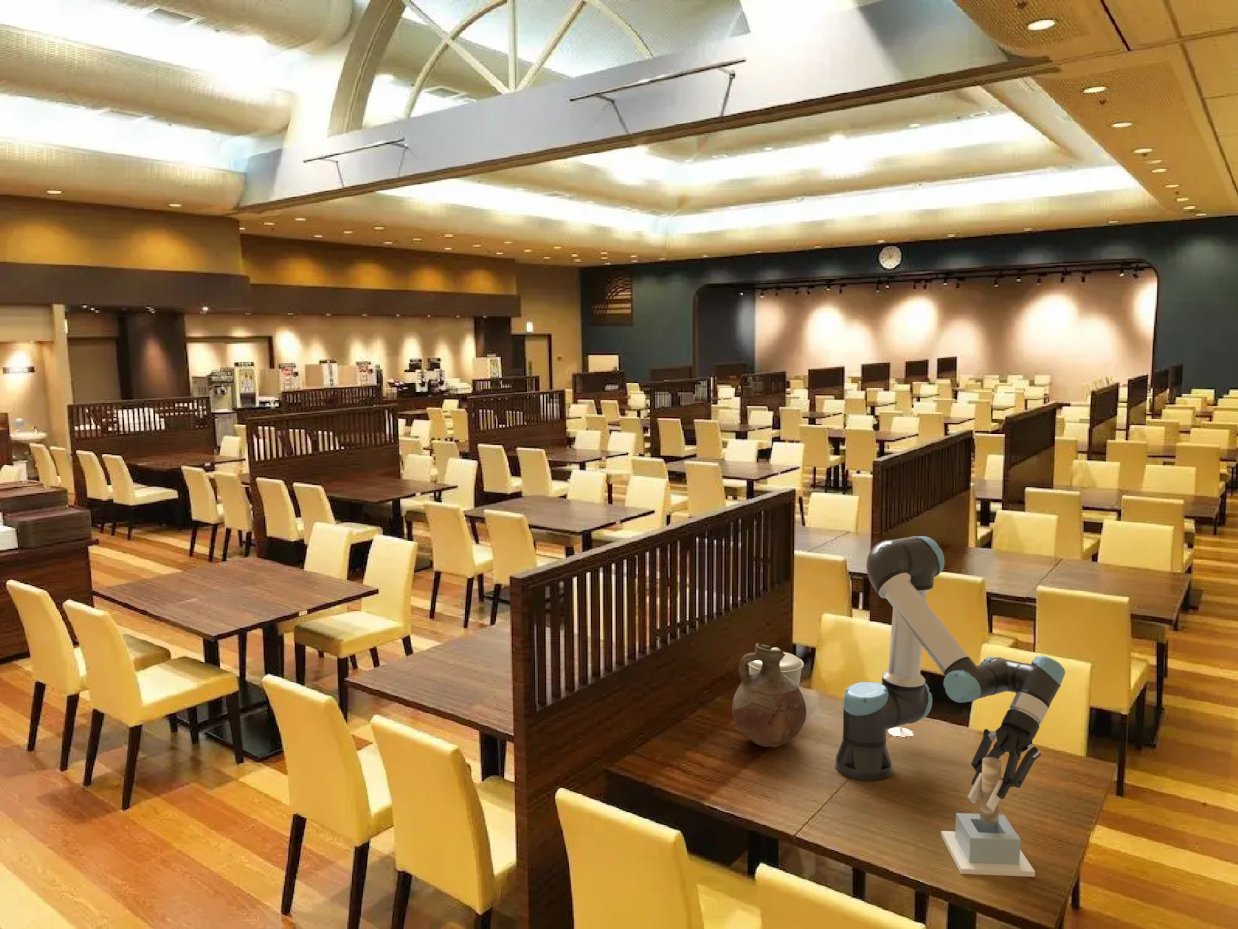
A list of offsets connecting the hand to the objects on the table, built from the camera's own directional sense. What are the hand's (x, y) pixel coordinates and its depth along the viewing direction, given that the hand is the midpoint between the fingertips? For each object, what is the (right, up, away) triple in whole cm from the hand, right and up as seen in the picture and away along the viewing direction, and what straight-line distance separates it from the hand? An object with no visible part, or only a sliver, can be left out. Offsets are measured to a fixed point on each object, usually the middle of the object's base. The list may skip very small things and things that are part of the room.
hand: (980, 804), depth 205 cm
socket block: (+3, -13, +4) cm, 14 cm away
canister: (-32, -3, +87) cm, 93 cm away
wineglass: (+4, -5, +71) cm, 71 cm away
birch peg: (+3, -4, +3) cm, 6 cm away
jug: (-38, -6, +64) cm, 74 cm away
